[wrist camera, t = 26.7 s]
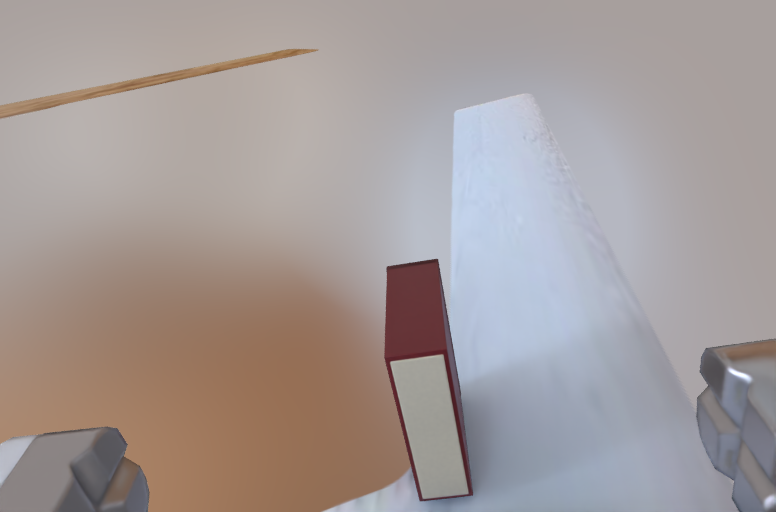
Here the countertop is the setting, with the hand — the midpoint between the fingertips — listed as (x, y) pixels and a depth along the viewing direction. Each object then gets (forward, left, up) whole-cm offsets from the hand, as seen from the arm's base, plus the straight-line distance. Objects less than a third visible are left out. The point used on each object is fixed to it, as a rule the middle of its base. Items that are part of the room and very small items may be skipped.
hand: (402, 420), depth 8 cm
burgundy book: (-7, -29, -32) cm, 43 cm away
